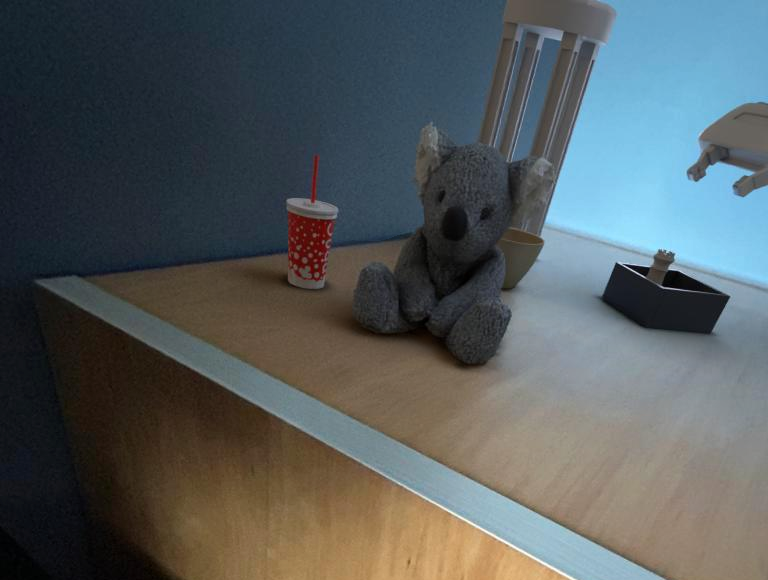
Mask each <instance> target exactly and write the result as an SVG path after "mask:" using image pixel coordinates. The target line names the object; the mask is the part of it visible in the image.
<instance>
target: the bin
mask: <svg viewBox="0 0 768 580" xmlns="http://www.w3.org/2000/svg"><path fill="white" fill-rule="evenodd" d="M650 266H651V265H644V264H643V265H642V264H636V263H627V262H620V261H616V262H615V263H614V266H613V269H612V271H611V274H610V276H609V279H608V281H607V283H606V286H605V288H604V291H603V294H602V295H601V299H602V300H604V301H606V302H607V303H608V304H609V305H612V306H613V307H614V308H616V309H617V310H619V311H620V312H621V313H623V314H624V315H626V316H628V317H629V318H631V319H632V320H634V321H635V322H637V323H638V324H639V325H641V326H643V327H644V328H650V329H661V330H671V331H683V332H693V333H704V334H712V332H713V330H714V328H715V327H716V324H718V323H717V322H718V321H719V319H720V317H721V315H722V314H723V312H724V310H725V308H726V306H727V304H728V302H729V300H730V299H731V295H729V294H727V293H725V292H723V291H721V290H719V289H717V288H715V287H713V286H711V285H709V284H707V283H705V282H703V281H701V280H700V279H697V278H695V277H693V276H692V275H689V274H687V273H686V272H683V271H681V270H680V269H674V268H668V270H669V271H668V272H666V274H665V277H664V279H663V282H662V286H660V285H658V284H657V283H655V282H653V281H651V280H650V279H648V278H646V276H647V275H648V273H649V271H650Z"/></svg>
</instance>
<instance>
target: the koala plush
mask: <svg viewBox="0 0 768 580" xmlns="http://www.w3.org/2000/svg"><path fill="white" fill-rule="evenodd" d="M433 124H434V122H433V121H431V122H430V123H429V124H426V126H425V127H422V129H421V131H419V132H420V135H419V141H420V142H418V144H417V146H416V148H415V149H414V152H415V153H416V155H415V161H414V163H415V164H414V166H413V168H412V170H414V177H413V178H412V181H411V183H412V184H415V186H417V189H418V191H417V198H419V200H420V204H421V206H422V207H423V209H422V211H423V217H424V218H423V220H424V221H423V223H422V224H421V226H418V227H417V228H415V229H414V231H412V234H411V235H410V236H409V237H408V238H407V240H406V241H405V243H404V245H403V246H402V248H401V251H400V253H399V255H398V257H397V260H396V263H395V265H394V269H393V272H392V270H390V268H389V267H388V266H387V265H386V263H385V264H384V263H383V264H382V262H380V261H378V262H377V261H372V262H369V263H367V264H366V265H365V266H362V268H361V270H360V272H359V275H358V280H357V284H356V288H355V289H354V290H353V293H354V294H353V298H352V311H353V313H352V314H353V317H354V318H355V320H356V321H357V322H358V323H359V324H360V326H361V327H363V329H365V330H367V331H372V332H373V333H375V334H396V333H397V334H401V333H406V332H408V331H413V330H416V329H420V328H422V327H424V326H426V328H427V331H428V332H430V333H431V334H432V335H433V336H435V337H439V338H444V340H445V345H446V347H447V349H448V350H450V352H451V353H452V354H453V356H454V357H455V358H457V359H459V360H460V361H462V362H463V363H464V364H468V365H472V364H473V365H476V364H479V365H481V364H484V362H487V361H489V360H491V359H492V358H493V357H494V356H495V355H496V353H497V351H498V350H499V349H500V347H501V344H502V340H503V338H504V336H505V334H506V332H507V330H508V326H509V325H510V322H511V319H512V316H513V312H512V310H511V309H512V308H510V307H509V306H510V305H509V304H506V303H504V302H503V301H502V298H501V290H502V289H503V288H502V285H503V282H504V277H505V268H506V265H505V257H504V254H503V253H502V250H500V249H499V248H498V247H497V246H496V245H495V244H496V243H498V241H499V240H500V239H501V238H502V237H503V235H504V234H505V232H506V231H507V229H508V228H509V227H514V226H522V224H524V223H525V222H526V221H527V220H529V219H531V218H532V216H534V215H535V214H538V213H539V212H540V209H541V207H542V206H543V205H544V204H546V203H547V202H546V198H547V197H550V196H551V195H550V193H551V192H550V190H551V188H550V187H551V185H552V184H556V182H555V179H556V177H557V176H556V174H557V171H558V170H556V169H557V168H555V166H553V165H552V164H551V163H550V162H548V161H547V160H545V157H546V156H544V157H543V155H542V157H541V158H539V159H538V158H537V156H531V157H530V156H529V155H528V156H525V157H524V158H522V159H518V160H512V162H511V163H509V164H508V162H507V160H506V159H504V157H503V156H502V154H501V153H500V152H498V148H496V146H495V147H490V146H489V145H482V143H477V141H476V142H471V143H470V142H468V143H467V144H463V145H460V146H459V145H458V144H457V143H456V140H454V139H453V138H451V137H449V135H448V133H447V131H445V130H444V129H443V128H438V129H437V125H436V126H433Z"/></svg>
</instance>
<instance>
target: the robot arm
mask: <svg viewBox="0 0 768 580" xmlns="http://www.w3.org/2000/svg"><path fill="white" fill-rule="evenodd" d="M697 145H698V149H699V153H700V155H699V157H698V159H697V160H696V162H695V163H694V164H692V165H691V166H689V167H688V168H687V170H686V176H687V180H688V181H690V182H694V183H698V182H699V181H700V180H702V179H703V178H705V177H706V176H707V172H706V170H707V169H708V168H709V167H710V166H714V165H716V164H717V163H718V164H721V165H726V166H729V167H732V168H736V169H739V170H744V171H747V172H751V173H752V174H750V175H746V174H744V175H742V176H741V177H740V178H739V179H738V180H736V181H734V182H733V184H732V186H731V187H732V191H733V195H735V196H737V197H740V198H745V197H746V196H748V195H749V194H750V193H752V192H753V191H755V190H759V189H761V188H763V187H766V186H768V102H765V101H757V102H747V103H746V102H745V103H743V104H740V105H738V106H737V107H735V108H733V109H731V110H730V111H728V112H727V113H725V114H724V115H722V116H720V118H718V119H716V120H715V121H714V122H712V123H711V124H710V125H708V126H706V128H704V129H703V130H702V131H701V132H700V133H699V135H698V137H697Z"/></svg>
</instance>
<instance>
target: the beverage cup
mask: <svg viewBox="0 0 768 580" xmlns="http://www.w3.org/2000/svg"><path fill="white" fill-rule="evenodd" d="M319 159H320V155H318V154H314V158H313V168H312V169H313V172H312V183H311V196H310V199H309V198H304V197H303V198H301V197H291V198H287V199H286V201H285V202H286V203H285V205H286V210H287V211H288V212H287V213H288V215H287V216H288V217H287V218H288V219H287V221H288V222H287V223H288V224H287V235H288V236H287V282H288V283H289V284H290V285H293V286H295V287H298V288H301V289H307V290H318V289H323V288H324V287H325V281H326V276H327V269H328V263H329V257H330V250H331V245H332V238H333V231H334V226H335V221H336V219H338V213H339V208H338V207H337V206H336V205H334V204H331V203H328V202H325V201H321V200H318V199H317V200H316V195H317V192H316V191H317V182H318V181H317V180H318V170H319Z"/></svg>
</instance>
